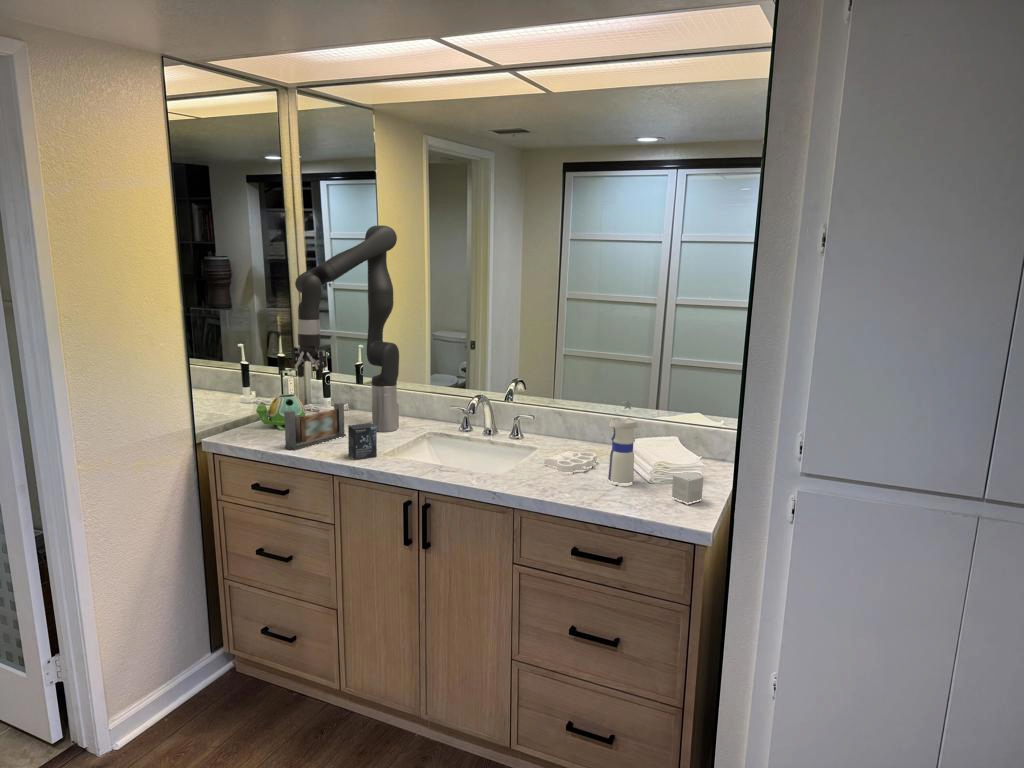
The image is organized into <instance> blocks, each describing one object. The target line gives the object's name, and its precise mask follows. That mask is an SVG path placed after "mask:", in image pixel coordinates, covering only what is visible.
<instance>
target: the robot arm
mask: <svg viewBox="0 0 1024 768" xmlns="http://www.w3.org/2000/svg"><path fill="white" fill-rule="evenodd" d="M397 240H398V236H397V233H396V231H395V229H393V228H392V227H391V226H387V225H373V226H371V227H368V229H367V230H366V232H365V236H364V241H362V242H360V243H358V244H357V245H354V246H353V247H351V248H348V249H346V250H344V251H341V252H339V253H336V254H335V255H333V256H331V257H330V258H328V259H327V260H325V261H324V262H323V263H321V264H319V265H317V266H314V267H313V268H310V269H308V270H306V271H305V272H302V273H301V274H299V276H297V278H296V279H295V283H294V284H295V285H294V287H295V288H296V290H297V292H299V293H300V294H301V299H300V303H298V306H297V307H298V308H297V309H298V310H297V313H298V314H297V317H298V318H297V319H298V320H297V321H298V322H297V345H298V346H295V347H293V348H292V355H291V356H292V357H291V358H292V361H291V362H292V364H293V365H295V366H296V370H297V371H296V372H297V377H298V378H304V377H305V366H304V365H305V363H306V362H309V363H311V364H312V365H314V367H315V380H316V381H320V380H322V379H323V369H325V368H328V357H327V353H328V352H327V350H320V346H321V322H320V303H321V298H322V291H323V289H322V287H323V285H325V284H327V283H331V282H334V281H336V280H337V279H339V278H340V277H342V276H343V275H345V274H347V273H349V272H350V271H351V270H353V269H354V268H356V267H358V266H359V265H361V264H363V263H364V262H367V307H368V311H367V312H368V315H367V316H368V323H367V325H368V326H367V327H368V328H367V329H368V330H367V339H366V341H367V342H366V358H367V361H368V363H369V364H370V365H371V366H374V367H375V366H376V367H381V371H380V373H379V374H377V375H373V376H372V377H371V414H372V415H371V424H373V425H375V426H376V427H377V432H379V433H389V432H393V431H396V430H398V428H400V422H399V421H400V420H399V419H400V417H399V412H400V411H399V409H400V408H399V406H400V405H399V403H398V394H397V393H398V392H397V391H398V388H397V383H398V378H399V371H400V351H399V348H398V347H399V346H398V344H396V343H394V342H390V341H389V342H388V341H384V340H383V339H384V336H383V335H384V328H385V324H386V322H387V320H388V319H389V317H390V315H391V313H392V311H393V308H394V286H393V283H392V278H391V276H390V273H389V269H388V263H387V256H388V254H387V252H389V251H390V250H393V248H394V247H396V244H397V243H398V242H397Z"/></svg>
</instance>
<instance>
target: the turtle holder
mask: <svg viewBox="0 0 1024 768" xmlns="http://www.w3.org/2000/svg"><path fill="white" fill-rule="evenodd" d="M255 410H256V414H258V417H259V419H260V421H261V423H262V424H264V425H272V426H276V428H277V430H278V429H280V430H279V431H285V417H284V412H285V411H289V410H291V411H295V415H300V417H303V416H306V407H305V405H304V403H303V401H302V400H301V399H300V398H299V397H298V396H297V395H296V394H294V393H293V394H292V393H286V394H279V395H276V397H275V398H274V399H273V400H272V401H271V403H270V406H269V409H268V407H267V406H266V405H265V404H258V405H257V406H256V409H255ZM267 412H268V414H267ZM283 426H284V427H283Z"/></svg>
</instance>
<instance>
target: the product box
mask: <svg viewBox="0 0 1024 768" xmlns="http://www.w3.org/2000/svg"><path fill="white" fill-rule="evenodd" d="M703 486H704V477H703V476H700V475H698V474H695V473H692V472H689V471H685V472H680V473H676V474H673V475H672V487H671V491H672V492H671V498H672V497H674V498H677V499H679V500H682V501H685V502H687V503H689V502H693V501H697V500H700V499H702V500H703V491H704V490H703Z"/></svg>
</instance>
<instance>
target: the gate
mask: <svg viewBox="0 0 1024 768" xmlns="http://www.w3.org/2000/svg"><path fill="white" fill-rule="evenodd" d="M295 430H296V444H299V443H301V442H306V441H310V440H314V439H317V438H321V437H325V436H329V435H333V434H336V433H337V410H334V409H329V410H325V411H321V412H316V413H313V414H312V413H311V414H307V415H305V416H303V417H300V415H295Z"/></svg>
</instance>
